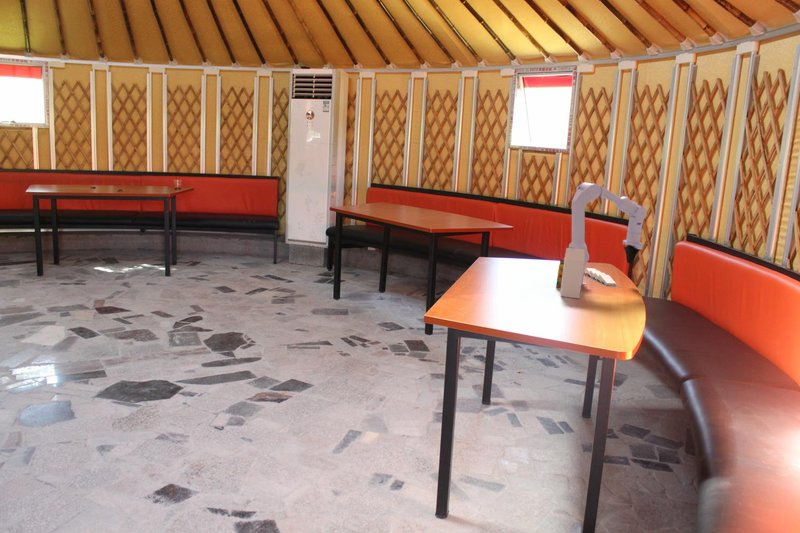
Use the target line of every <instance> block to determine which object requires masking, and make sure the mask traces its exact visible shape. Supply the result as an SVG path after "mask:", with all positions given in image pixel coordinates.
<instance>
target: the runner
mask: <svg viewBox="0 0 800 533" xmlns="http://www.w3.org/2000/svg"><path fill="white" fill-rule="evenodd" d="M586 278H589V279H591V280H592V281H594V282H597V283H599V284H600V285H602V286H604V287H607V288H620V286H618V285H617V284H616V286H609V285H605V283H601V282H600V281H597V280H596V279H595V278H591V276H586Z"/></svg>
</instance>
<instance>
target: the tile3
mask: <svg viewBox="0 0 800 533" xmlns="http://www.w3.org/2000/svg"><path fill="white" fill-rule="evenodd" d="M596 270H597V269H596ZM596 270H590V273H591V274H592V276H593V277H594V278H595V279H596V280H597V281H599V280H598V278H597V277H596V276H595V275H594V274H595V272H600V273H602V271H600V270H597V271H596Z"/></svg>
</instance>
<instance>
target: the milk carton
mask: <svg viewBox="0 0 800 533" xmlns="http://www.w3.org/2000/svg"><path fill="white" fill-rule="evenodd" d="M584 257H585V250H581V249H571V248H569V247H566V248H565V253H564V259H563V260H564V266H563V274H562V282H561V288H559V289H560V291H559V294H560V297H565V298H573V299H580V297H581V296H580V295H581V290H582V288H581V287H582V285H581V282H582V275H583V268H584Z"/></svg>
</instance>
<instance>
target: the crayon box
mask: <svg viewBox="0 0 800 533" xmlns="http://www.w3.org/2000/svg"><path fill="white" fill-rule="evenodd" d="M559 260H560V262H559V265H558V269H557V271H558V272H557V278H556V284H555V287H556V288H557V289H561V282H562V274H563V266H564V259H559Z"/></svg>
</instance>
